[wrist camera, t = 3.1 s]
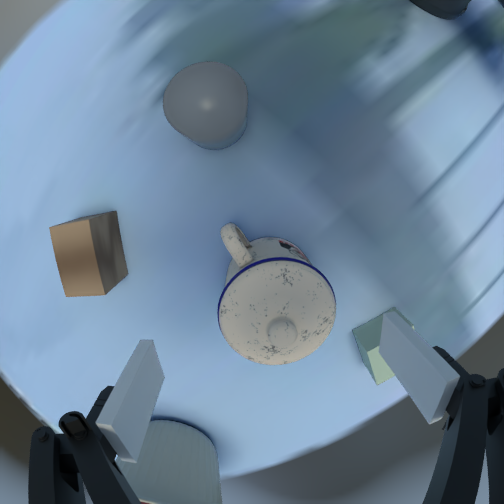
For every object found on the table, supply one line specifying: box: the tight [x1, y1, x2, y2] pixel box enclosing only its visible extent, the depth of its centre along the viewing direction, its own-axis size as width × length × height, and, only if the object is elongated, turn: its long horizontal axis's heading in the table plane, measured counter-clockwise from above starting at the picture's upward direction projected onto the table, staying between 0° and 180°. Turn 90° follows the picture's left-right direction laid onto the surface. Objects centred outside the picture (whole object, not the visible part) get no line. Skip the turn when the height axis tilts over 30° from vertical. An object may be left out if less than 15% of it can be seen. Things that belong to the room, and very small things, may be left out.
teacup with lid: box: [218, 223, 336, 365], centre depth 23 cm, size 12×9×12 cm
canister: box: [116, 420, 222, 504], centre depth 26 cm, size 18×18×21 cm
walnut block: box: [49, 211, 128, 297], centre depth 25 cm, size 7×5×6 cm
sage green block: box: [352, 307, 414, 385], centre depth 29 cm, size 6×6×5 cm
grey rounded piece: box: [163, 62, 248, 150], centre depth 21 cm, size 6×6×8 cm
